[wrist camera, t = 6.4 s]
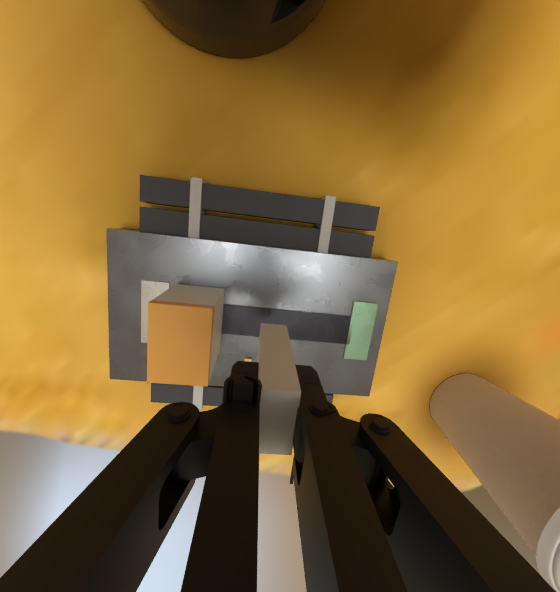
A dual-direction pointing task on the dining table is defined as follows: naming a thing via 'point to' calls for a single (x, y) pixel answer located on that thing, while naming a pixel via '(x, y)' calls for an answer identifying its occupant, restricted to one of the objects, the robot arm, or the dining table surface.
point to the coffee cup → (508, 458)
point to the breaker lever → (184, 335)
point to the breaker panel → (253, 303)
